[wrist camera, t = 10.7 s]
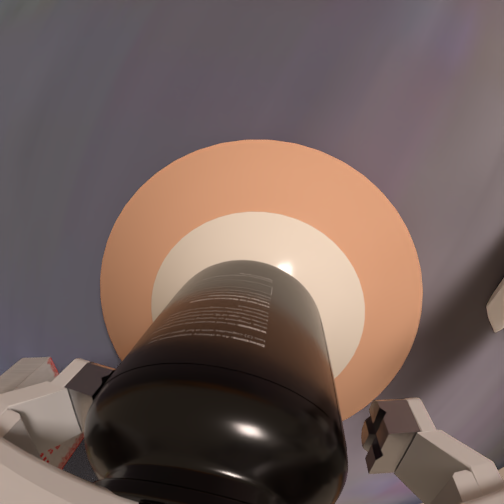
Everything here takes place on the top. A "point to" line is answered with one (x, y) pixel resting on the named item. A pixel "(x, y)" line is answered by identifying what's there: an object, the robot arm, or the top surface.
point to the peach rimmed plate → (273, 251)
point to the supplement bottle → (224, 399)
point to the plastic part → (496, 308)
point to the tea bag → (32, 374)
